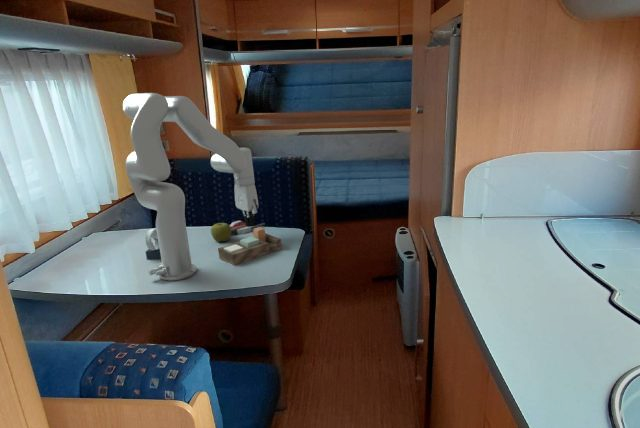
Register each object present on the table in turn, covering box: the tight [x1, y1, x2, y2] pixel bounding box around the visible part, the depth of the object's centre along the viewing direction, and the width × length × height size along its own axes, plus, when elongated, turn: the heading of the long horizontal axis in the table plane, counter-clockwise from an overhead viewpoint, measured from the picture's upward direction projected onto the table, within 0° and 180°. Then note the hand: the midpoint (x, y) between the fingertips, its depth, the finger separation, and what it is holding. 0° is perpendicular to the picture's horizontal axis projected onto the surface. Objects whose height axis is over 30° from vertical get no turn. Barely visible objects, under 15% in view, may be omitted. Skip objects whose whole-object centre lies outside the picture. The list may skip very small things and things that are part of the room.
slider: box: [252, 226, 266, 242], centre depth 180 cm, size 3×3×5 cm
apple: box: [210, 222, 232, 242], centre depth 189 cm, size 8×8×7 cm
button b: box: [239, 236, 259, 247], centre depth 174 cm, size 5×5×3 cm
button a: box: [224, 244, 243, 253], centre depth 170 cm, size 5×5×3 cm
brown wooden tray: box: [217, 232, 283, 266], centre depth 174 cm, size 21×10×4 cm, turn 131°
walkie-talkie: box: [228, 220, 266, 237], centre depth 201 cm, size 9×4×20 cm
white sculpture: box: [145, 228, 161, 260], centre depth 176 cm, size 6×8×11 cm
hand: (250, 225), depth 185 cm, fingers closed
